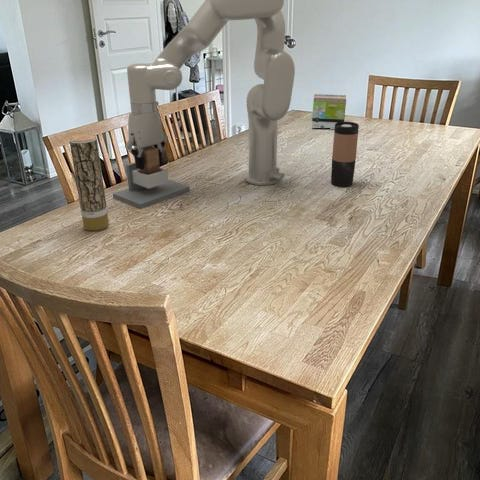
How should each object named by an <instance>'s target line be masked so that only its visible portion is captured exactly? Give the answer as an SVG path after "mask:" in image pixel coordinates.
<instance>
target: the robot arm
mask: <svg viewBox="0 0 480 480" xmlns="http://www.w3.org/2000/svg"><path fill="white" fill-rule="evenodd" d="M284 3H285V0H204V2H203V3H202V4H201V5H200V7H199V8H198V9H197V11H196V12H195V13H194V14H193V16H192V17H191V19H190V20H189V21H188V22H187V23H186V25H185V26H184V27H182V29H181V30H179V32H178V33H177V34H175V36H174V37H173V38H172V39H171V41H169V42H168V43H167V45H166V46H165V47H164V48H163V49H162V51H161V52H160V54H158V56H157V57H156V58H155V60H154V62H152V64H150V63H131V64H129V65H128V66H127V69H126V73H127V75H126V76H127V82H128V83H127V84H128V92H129V103H130V111H131V113H129V115H128V123H127V127H128V128H127V132H128V133H127V135H128V141H127V142H126V144H125V146H124V148H125V150H126V151H128V152H129V153H130V154H132V156H133V157H134V162H135V164H136V168H138V169H141V170H143V169H144V162H143V157H141V155H142V150H143V148H144V147H148V146H151V147H155V148H158V153H159V164H160V165H162V164H163V157H162V156H163V155H162V152H163V151H164V147H165V145H166V142H167V140H168V139H169V136H168V135H167V134H166V133H165V132H164V131H163V127H162V120H161V116H160V113H159V110H157V109H158V108H157V107H158V106H159V104H160V103H159V101H157V96H156V90H161V91H162V90H163V91H173V90H176V89H178V88H179V87H180V86H181V84H182V82H183V75H182V71H181V68H182V67H183V66H184V65H185V64H186V62H187V61H189V59H191V58H192V57H193V56H195V55H196V54H198V53H201V52H202V51H204V50H206V49H207V48H208V47H210V45H211V44H212V43H213V41H214V40H215V38H216V37H218V35H219V33H220V32H221V31H222V29H223V28H224V27H225V26H226V24H227V23H228V22H229V21H241V20H242V21H243V20H253V19H254V21H255V24H256V29H257V31H256V32H257V33H256V44H255V45H256V46H255V52H254V54H255V55H254V60H253V61H254V62H253V70H254V71H253V72H254V73H255V75H256V76H257V77H258V78H260V79H261V80H263V83H259V84H256V85H254V86H252V87H251V88H250V89H249V91H248V92H247V96H246V101H245V102H246V112H247V118H248V121H247V122H248V172H247V173H245V175H243V176H244V178H243V179H244V182H246V183H249V184H251V185H255V186H257V185H258V186H270V185H275V184H277V183H279V182H282V181H283V180H284V177H285V173H284V172H283V173H282V172H280V167H277V165H278V164H277V163H278V161H277V160H278V132H279V131H278V127H279V126H278V121H279V120H281V119H283V118H284V117H285V116H286V115H287V114H288V112H289V109H290V105H291V101H292V95H293V88H294V81H295V73H296V67H295V63H294V60H293V58H292V56H291V55H290V54H289V53H288V52H286V51H284V49H285V39H286V22H285V18H284V14H283V12H282V9H283V6H284V5H285V4H284Z"/></svg>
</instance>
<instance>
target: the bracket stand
mask: <svg viewBox="0 0 480 480" xmlns="http://www.w3.org/2000/svg"><path fill="white" fill-rule="evenodd" d="M125 166H126V167H125V168H126V174H127V183H128V187H127V188H125V189H121V190H118V191H116V192H113V193H112V198H113V199H115V200H118V201H121V202H122V203H125V204H127V205H131V207H135V208H137V209H140V210H141V209H144V208H147V207H149V206H152V205H154V204H155V205H156V204H158V203H160V202H163V201H167V200H168V199H171V198H174V197H177V196H180V195H183V194H186V193H188V192H190V191H191V190H190V186H189V185H186V184H182V183H181V182H176V181H173V180H170V179H169V171H168V169H167V168H162V167H160V172H156V173H153V174H150V175H146V174H143V173H140V169H138V168H136V164H135V161H134V162H132V163H128V164H126V165H125Z"/></svg>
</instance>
